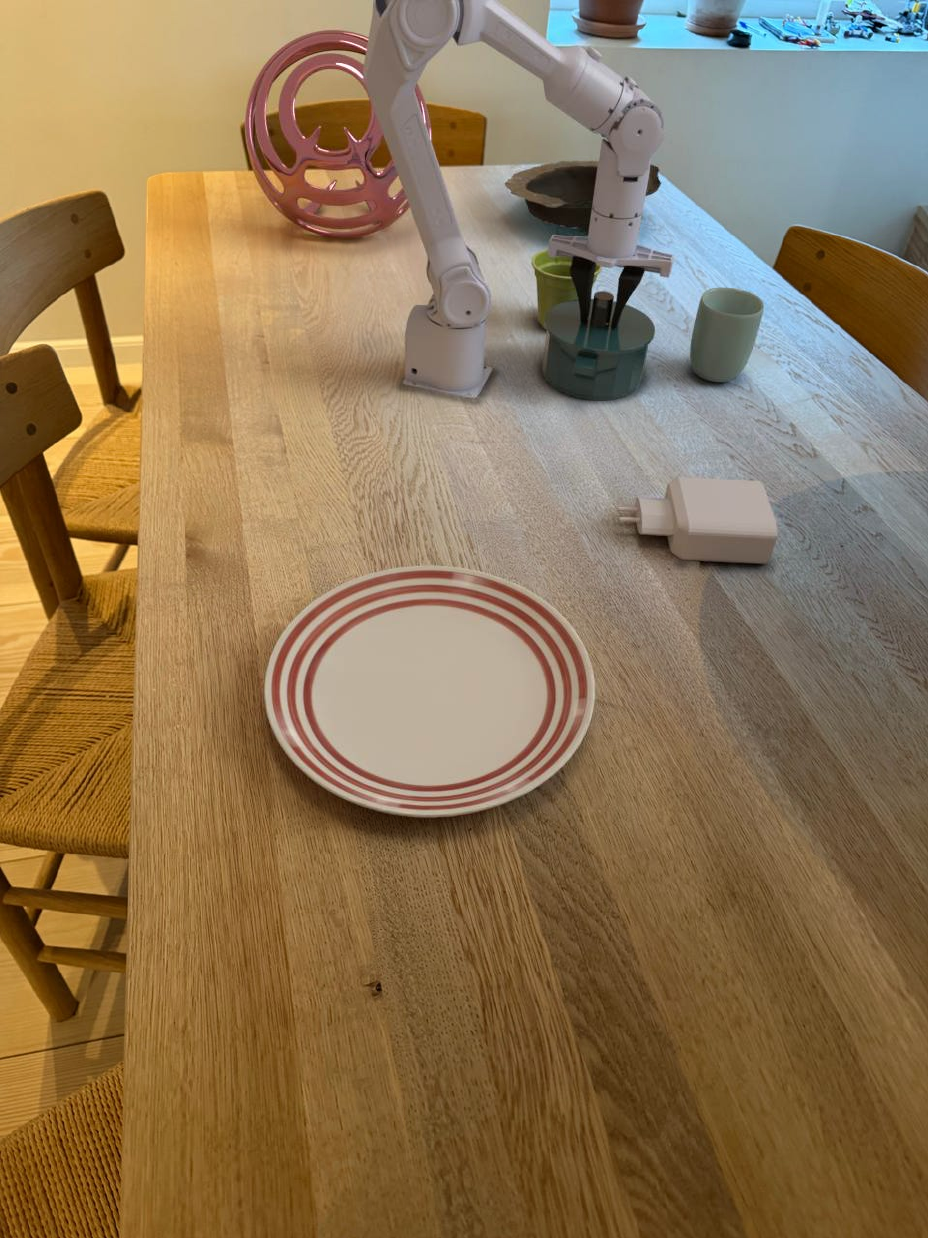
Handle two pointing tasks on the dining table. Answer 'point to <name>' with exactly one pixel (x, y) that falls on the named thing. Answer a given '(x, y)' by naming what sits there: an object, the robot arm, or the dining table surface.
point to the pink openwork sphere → (307, 149)
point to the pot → (592, 371)
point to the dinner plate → (429, 691)
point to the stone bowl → (564, 191)
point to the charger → (710, 520)
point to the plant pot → (554, 282)
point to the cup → (724, 333)
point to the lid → (599, 327)
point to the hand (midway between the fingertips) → (599, 321)
